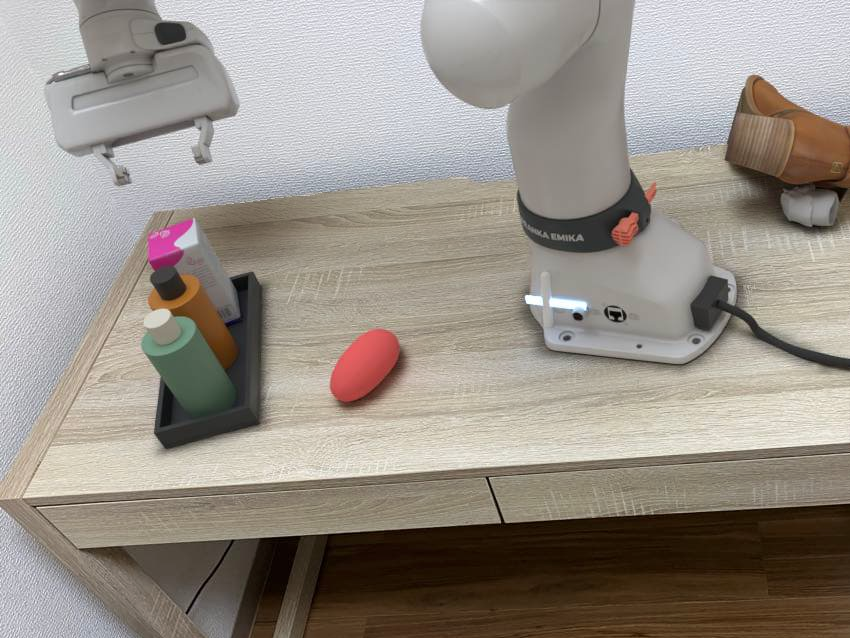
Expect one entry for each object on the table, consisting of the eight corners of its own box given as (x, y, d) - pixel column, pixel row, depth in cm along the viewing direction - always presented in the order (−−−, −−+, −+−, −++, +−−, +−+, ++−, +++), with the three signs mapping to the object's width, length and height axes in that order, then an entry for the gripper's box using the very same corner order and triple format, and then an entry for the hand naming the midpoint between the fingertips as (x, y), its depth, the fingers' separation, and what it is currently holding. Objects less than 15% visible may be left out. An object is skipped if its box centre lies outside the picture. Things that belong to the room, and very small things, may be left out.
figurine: (847, 220, 101) (817, 240, 99) (791, 196, 106) (761, 215, 104) (849, 190, 98) (818, 210, 96) (791, 167, 103) (761, 186, 101)
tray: (180, 308, 111) (170, 292, 109) (261, 286, 111) (253, 270, 109) (165, 449, 95) (153, 433, 93) (259, 423, 95) (249, 407, 93)
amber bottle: (248, 347, 103) (200, 262, 94) (215, 381, 100) (162, 297, 91) (214, 335, 105) (163, 252, 96) (180, 368, 103) (125, 286, 93)
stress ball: (424, 378, 97) (408, 321, 95) (353, 408, 91) (336, 348, 90) (397, 377, 101) (381, 322, 99) (328, 405, 95) (310, 347, 94)
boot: (729, 130, 119) (873, 164, 116) (713, 197, 99) (887, 239, 97) (748, 60, 113) (900, 94, 111) (736, 115, 94) (920, 158, 92)
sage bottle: (247, 390, 98) (196, 305, 89) (212, 427, 95) (155, 344, 86) (211, 377, 101) (157, 293, 92) (176, 413, 98) (117, 330, 89)
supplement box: (238, 291, 110) (196, 215, 102) (243, 321, 106) (199, 244, 98) (192, 308, 110) (145, 232, 101) (195, 338, 106) (147, 262, 97)
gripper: (24, 67, 99) (60, 191, 99) (206, 19, 99) (241, 143, 100) (54, 86, 105) (87, 202, 106) (225, 40, 105) (258, 157, 106)
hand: (163, 173), depth 103 cm, fingers open, 8 cm apart
